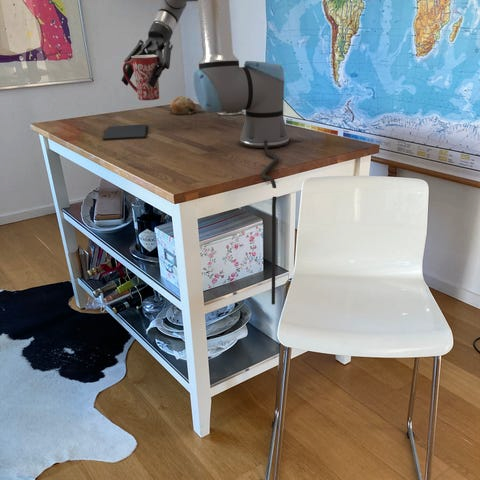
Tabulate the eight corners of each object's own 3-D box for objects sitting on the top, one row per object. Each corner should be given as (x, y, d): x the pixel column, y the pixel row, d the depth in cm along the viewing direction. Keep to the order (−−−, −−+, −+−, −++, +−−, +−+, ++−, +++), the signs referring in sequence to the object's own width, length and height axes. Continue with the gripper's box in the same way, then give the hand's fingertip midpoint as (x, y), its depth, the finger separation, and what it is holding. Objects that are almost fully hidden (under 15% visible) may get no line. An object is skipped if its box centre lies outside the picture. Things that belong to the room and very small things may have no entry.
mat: (145, 138, 175) (145, 136, 174) (103, 140, 173) (102, 138, 173) (146, 126, 192) (146, 124, 191) (108, 128, 190) (108, 126, 190)
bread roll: (181, 124, 210) (187, 106, 205) (163, 111, 212) (168, 92, 207) (196, 120, 217) (202, 102, 212) (178, 107, 219) (183, 89, 214)
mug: (165, 96, 184) (161, 54, 177) (157, 101, 177) (152, 57, 170) (132, 96, 187) (126, 55, 180) (122, 101, 179) (116, 57, 172)
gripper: (194, 38, 177) (170, 93, 175) (142, 37, 189) (118, 89, 186) (183, 21, 171) (157, 77, 168) (130, 21, 182) (105, 74, 180)
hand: (137, 83), depth 177 cm, fingers closed on mug, 12 cm apart
